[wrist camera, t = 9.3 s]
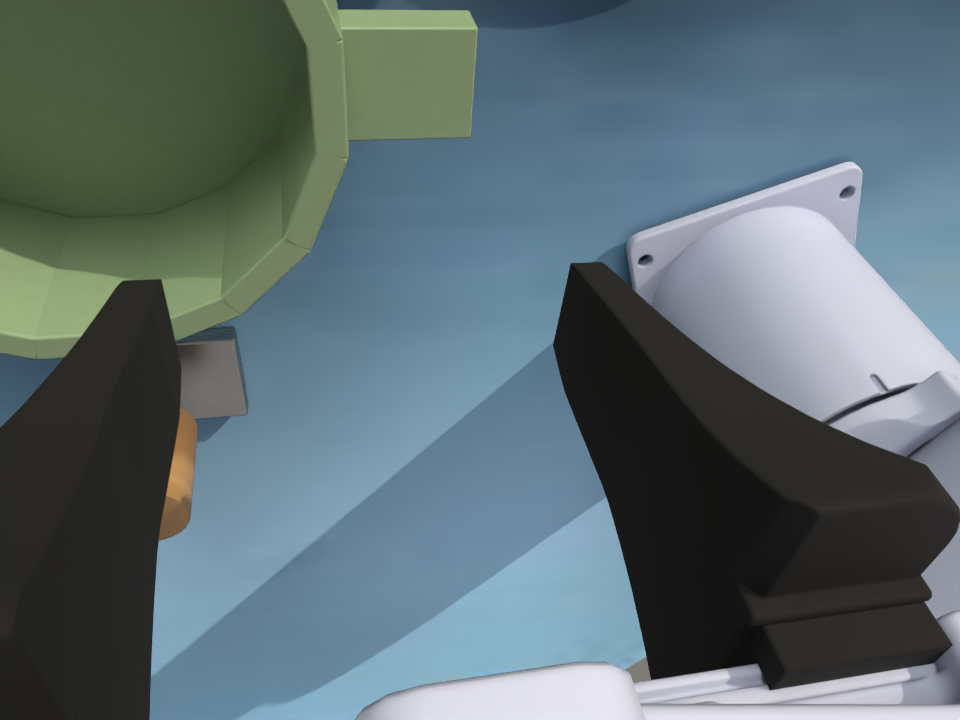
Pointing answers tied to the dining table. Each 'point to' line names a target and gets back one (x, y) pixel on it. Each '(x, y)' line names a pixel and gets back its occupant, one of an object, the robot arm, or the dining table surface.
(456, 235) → the dining table surface
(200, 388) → the masher
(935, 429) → the robot arm
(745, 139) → the dining table surface
